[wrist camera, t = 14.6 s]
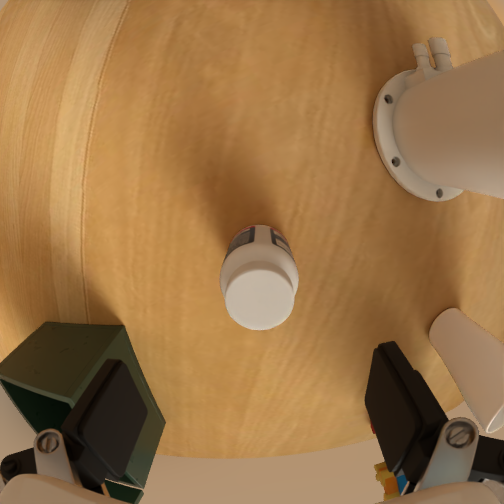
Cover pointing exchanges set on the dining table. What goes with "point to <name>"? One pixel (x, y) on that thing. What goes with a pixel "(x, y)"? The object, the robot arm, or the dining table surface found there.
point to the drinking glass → (472, 364)
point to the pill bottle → (259, 278)
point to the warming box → (76, 382)
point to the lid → (123, 492)
